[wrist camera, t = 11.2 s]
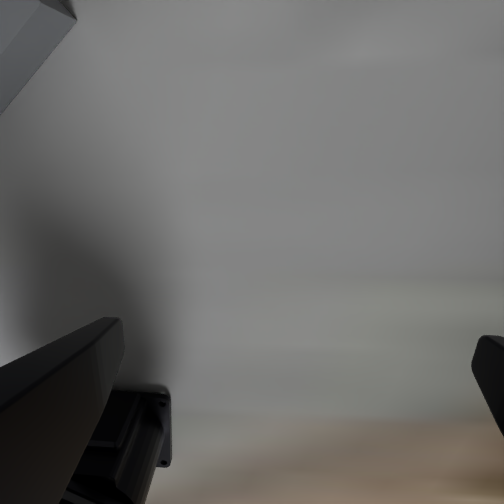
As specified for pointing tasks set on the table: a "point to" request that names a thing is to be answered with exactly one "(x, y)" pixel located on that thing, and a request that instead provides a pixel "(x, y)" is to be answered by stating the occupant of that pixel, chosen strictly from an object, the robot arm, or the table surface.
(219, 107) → the table surface
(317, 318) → the table surface
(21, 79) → the case
